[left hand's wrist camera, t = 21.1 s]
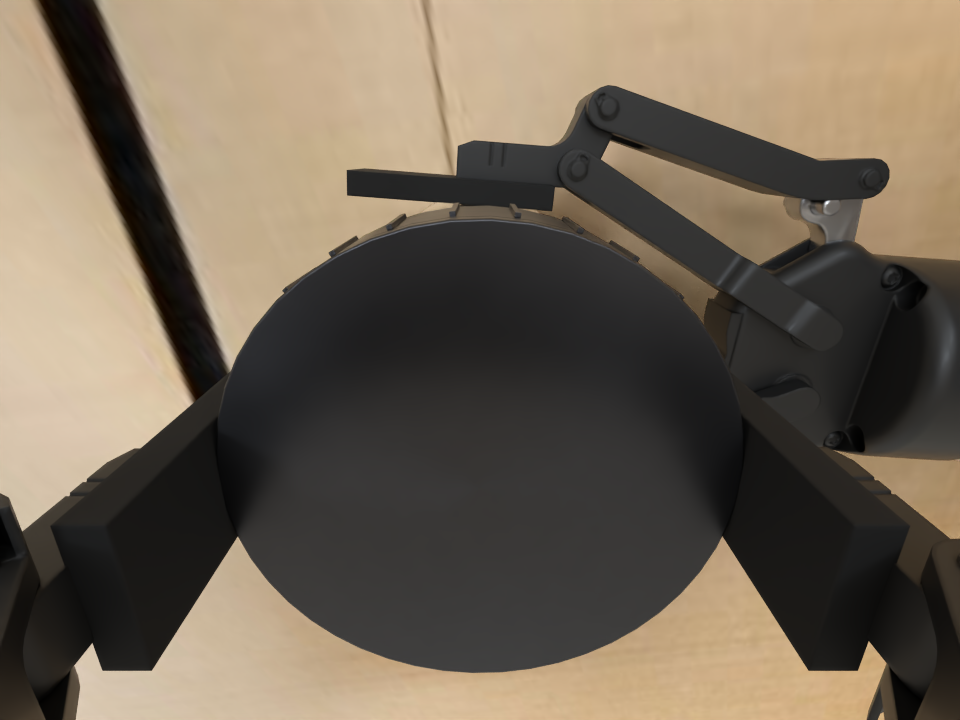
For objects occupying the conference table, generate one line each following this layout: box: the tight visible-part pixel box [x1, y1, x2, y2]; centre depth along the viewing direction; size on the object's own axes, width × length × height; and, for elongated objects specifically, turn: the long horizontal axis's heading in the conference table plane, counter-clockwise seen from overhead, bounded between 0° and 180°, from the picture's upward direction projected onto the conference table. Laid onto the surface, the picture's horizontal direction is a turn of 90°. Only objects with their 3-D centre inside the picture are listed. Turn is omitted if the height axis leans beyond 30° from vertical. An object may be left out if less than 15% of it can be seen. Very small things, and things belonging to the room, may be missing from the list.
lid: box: [216, 203, 744, 673], centre depth 11 cm, size 10×10×2 cm
